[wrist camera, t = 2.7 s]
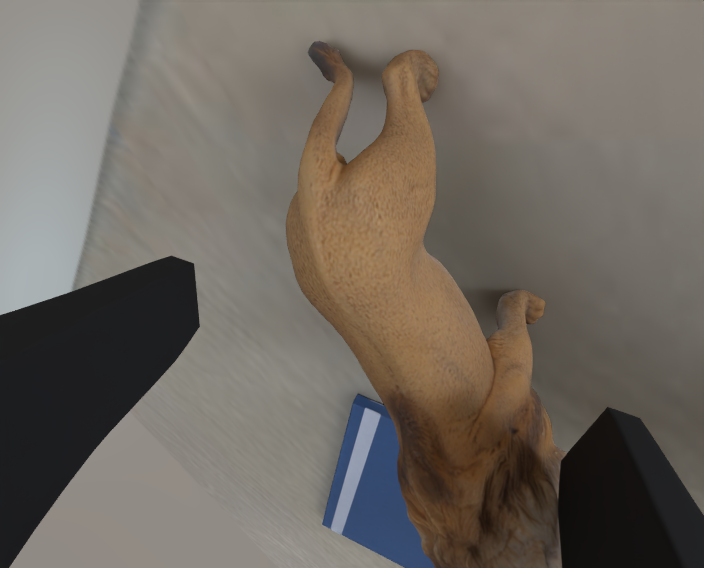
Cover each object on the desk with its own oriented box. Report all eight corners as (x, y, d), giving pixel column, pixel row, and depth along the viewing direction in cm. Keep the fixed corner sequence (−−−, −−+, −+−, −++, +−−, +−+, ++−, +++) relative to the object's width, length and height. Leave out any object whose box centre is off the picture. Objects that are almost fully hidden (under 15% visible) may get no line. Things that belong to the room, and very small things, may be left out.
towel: (734, 558, 17) (739, 574, 16) (575, 644, 24) (576, 657, 24) (357, 393, 20) (352, 403, 19) (325, 515, 28) (321, 525, 27)
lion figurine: (642, 379, 14) (717, 738, 7) (498, 409, 18) (458, 681, 11) (386, -28, 11) (90, -58, 4) (265, 103, 14) (-13, 211, 7)
